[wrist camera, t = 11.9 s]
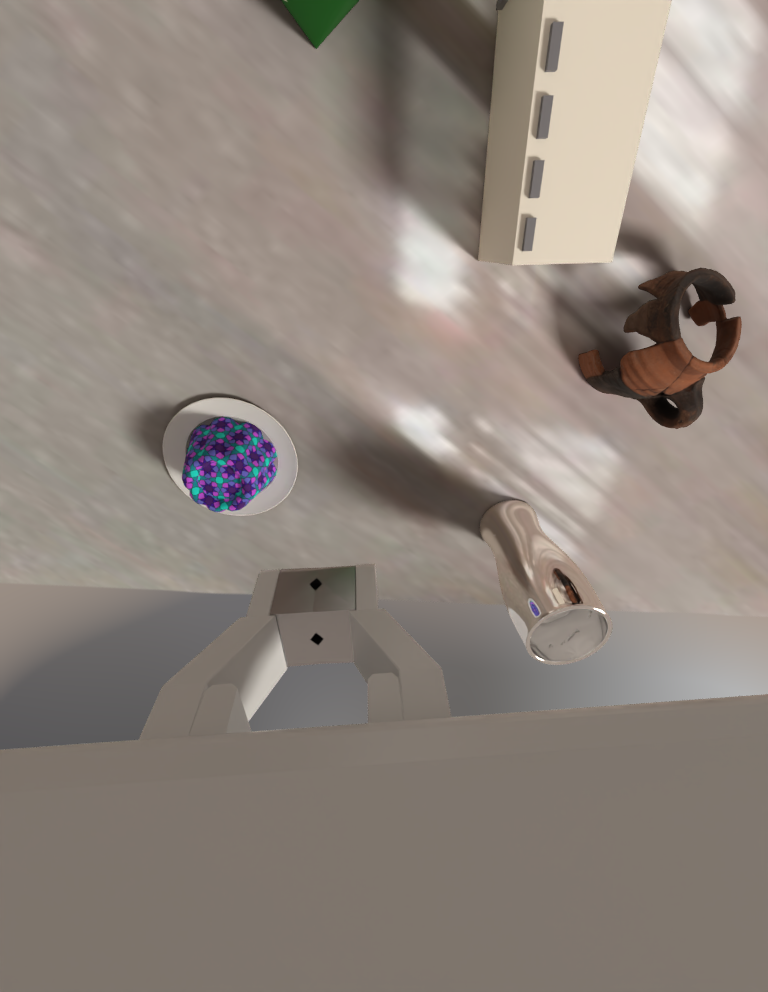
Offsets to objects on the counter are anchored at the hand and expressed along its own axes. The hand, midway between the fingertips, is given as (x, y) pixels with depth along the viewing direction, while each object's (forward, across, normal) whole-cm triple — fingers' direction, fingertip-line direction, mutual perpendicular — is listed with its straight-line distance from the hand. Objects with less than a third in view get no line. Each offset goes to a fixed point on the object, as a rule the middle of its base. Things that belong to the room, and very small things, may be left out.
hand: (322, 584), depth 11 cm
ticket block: (+27, -14, -13) cm, 33 cm away
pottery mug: (+27, -25, 0) cm, 37 cm away
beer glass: (+27, -16, +18) cm, 36 cm away
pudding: (+28, +11, +9) cm, 31 cm away
